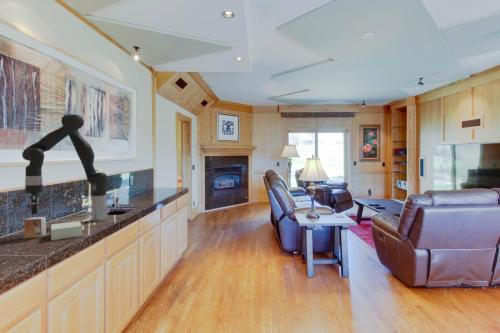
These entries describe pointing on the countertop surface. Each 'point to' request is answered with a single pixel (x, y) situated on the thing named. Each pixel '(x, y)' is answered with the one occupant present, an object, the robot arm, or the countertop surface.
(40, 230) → the small box
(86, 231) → the countertop surface
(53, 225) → the block
